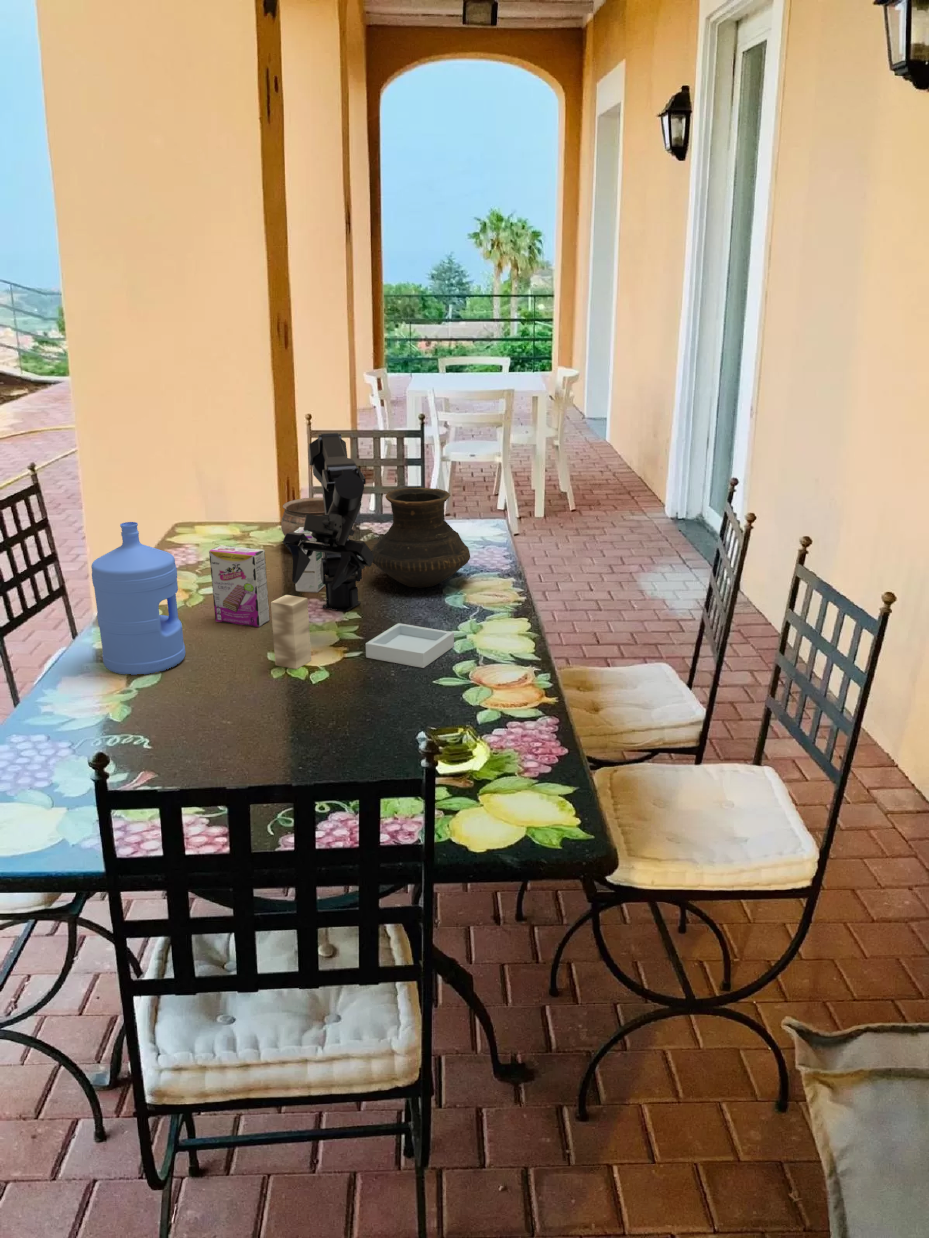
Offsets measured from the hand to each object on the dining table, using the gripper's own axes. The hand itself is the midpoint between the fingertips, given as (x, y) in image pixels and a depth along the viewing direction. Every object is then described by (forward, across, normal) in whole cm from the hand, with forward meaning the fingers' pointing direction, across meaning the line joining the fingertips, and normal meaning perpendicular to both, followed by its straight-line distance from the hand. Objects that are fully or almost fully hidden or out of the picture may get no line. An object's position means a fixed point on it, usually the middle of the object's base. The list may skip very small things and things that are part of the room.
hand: (313, 585), depth 208 cm
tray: (+5, +18, +14) cm, 24 cm away
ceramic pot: (-24, -2, +44) cm, 50 cm away
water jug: (+24, -27, -4) cm, 36 cm away
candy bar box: (+5, -24, +15) cm, 29 cm away
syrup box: (-14, -24, +33) cm, 43 cm away
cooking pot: (-35, -42, +54) cm, 77 cm away
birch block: (+15, 0, +4) cm, 16 cm away
